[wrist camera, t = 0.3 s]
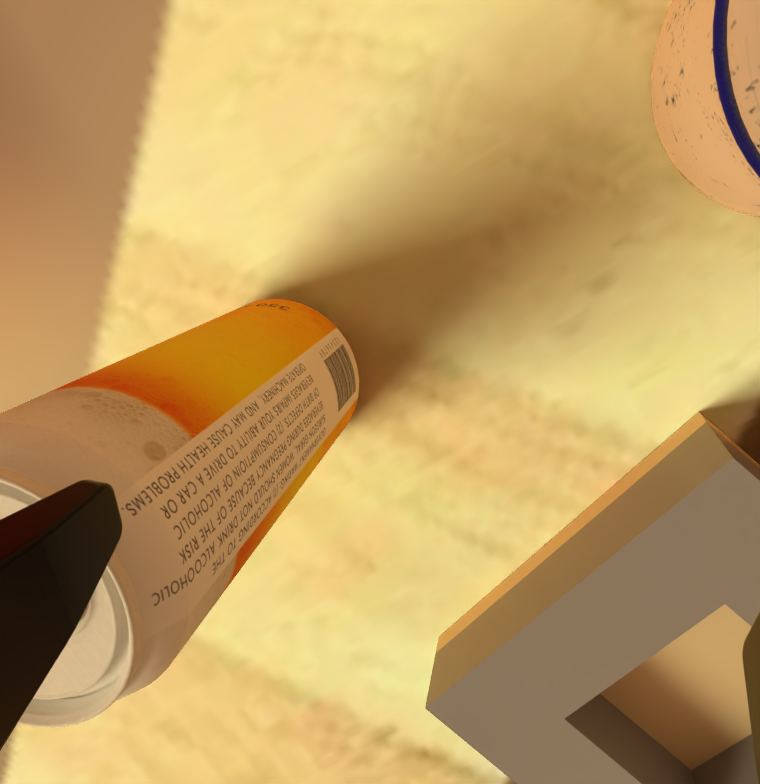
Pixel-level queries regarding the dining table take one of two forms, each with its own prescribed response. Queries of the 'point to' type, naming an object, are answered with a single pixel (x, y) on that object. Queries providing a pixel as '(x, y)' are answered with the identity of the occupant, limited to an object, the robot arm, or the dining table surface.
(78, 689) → the beer can
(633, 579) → the socket block
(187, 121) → the dining table surface
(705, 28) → the teacup with lid
